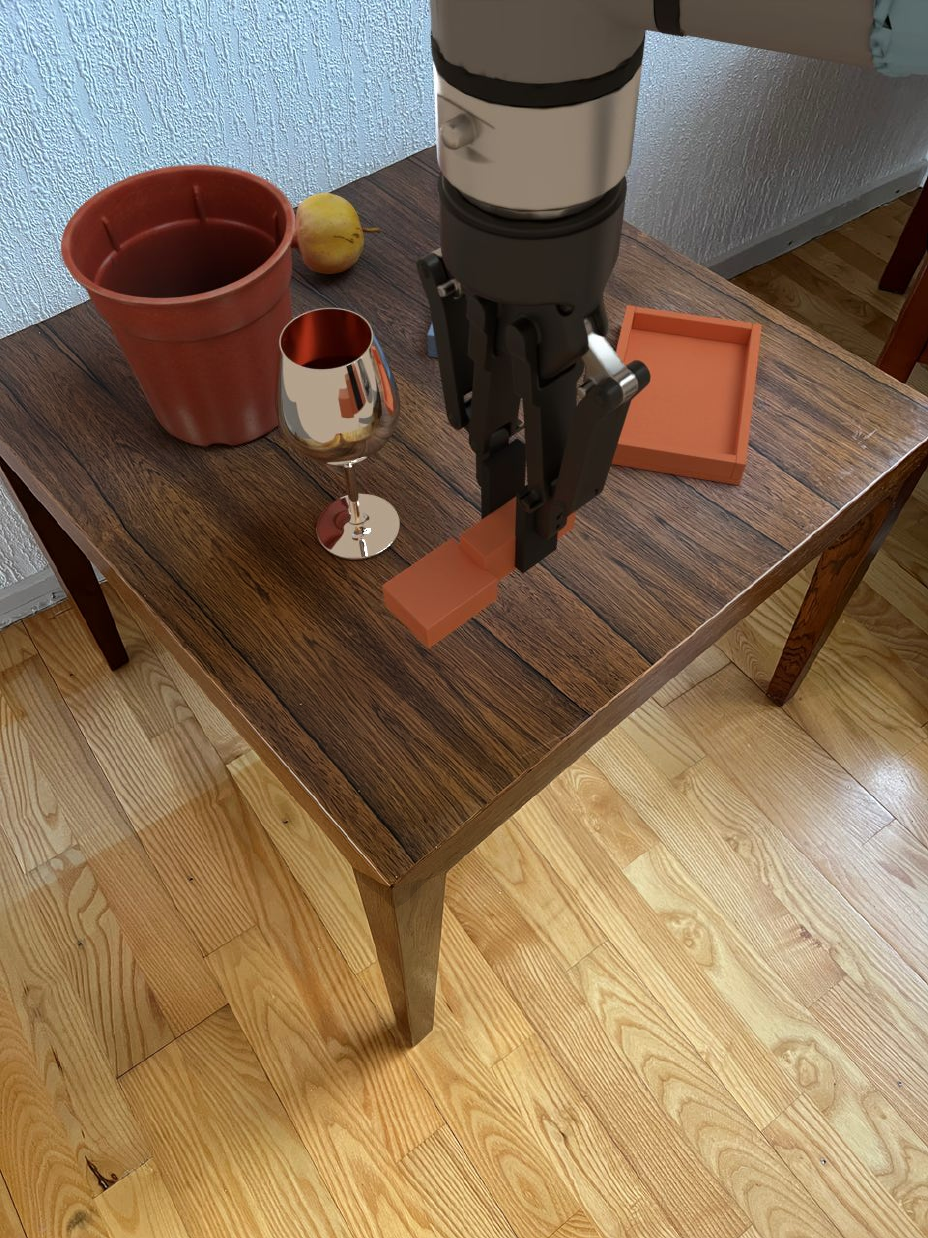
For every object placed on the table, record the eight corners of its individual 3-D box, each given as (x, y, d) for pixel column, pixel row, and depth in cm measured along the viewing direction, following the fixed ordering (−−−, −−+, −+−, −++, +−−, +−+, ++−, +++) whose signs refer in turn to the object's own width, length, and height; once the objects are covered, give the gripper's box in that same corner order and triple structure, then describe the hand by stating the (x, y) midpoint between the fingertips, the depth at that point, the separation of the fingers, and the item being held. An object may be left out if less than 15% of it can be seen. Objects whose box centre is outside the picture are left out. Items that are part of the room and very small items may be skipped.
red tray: (755, 346, 84) (762, 323, 82) (739, 485, 75) (746, 464, 73) (623, 326, 85) (626, 304, 83) (592, 461, 77) (595, 439, 75)
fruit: (371, 176, 89) (263, 190, 88) (382, 200, 84) (268, 215, 83) (379, 249, 94) (277, 264, 93) (391, 276, 89) (283, 292, 87)
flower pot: (330, 330, 86) (302, 158, 73) (320, 466, 77) (286, 298, 63) (146, 336, 86) (84, 166, 73) (115, 473, 77) (37, 306, 63)
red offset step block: (539, 498, 59) (541, 462, 57) (584, 536, 58) (589, 501, 55) (384, 605, 55) (379, 572, 53) (428, 649, 53) (425, 617, 51)
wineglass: (291, 506, 74) (242, 316, 60) (389, 474, 76) (366, 281, 61) (325, 584, 70) (281, 400, 55) (428, 548, 72) (413, 360, 57)
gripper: (339, 127, 40) (390, 503, 59) (603, 302, 33) (562, 661, 52) (476, 63, 42) (481, 443, 62) (747, 214, 36) (656, 586, 55)
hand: (518, 542), depth 57 cm, fingers closed on red offset step block, 2 cm apart
